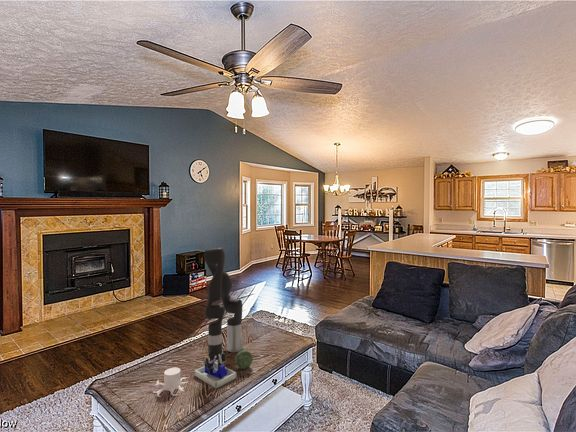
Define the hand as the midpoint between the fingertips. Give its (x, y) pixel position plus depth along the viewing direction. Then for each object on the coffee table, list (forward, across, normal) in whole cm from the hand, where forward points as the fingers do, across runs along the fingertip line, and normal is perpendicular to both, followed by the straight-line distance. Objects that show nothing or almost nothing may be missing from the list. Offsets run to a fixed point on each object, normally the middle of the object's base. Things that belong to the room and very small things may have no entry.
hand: (215, 372), depth 173 cm
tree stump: (+3, +20, -10) cm, 23 cm away
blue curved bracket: (+1, 0, 0) cm, 1 cm away
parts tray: (+3, 0, 0) cm, 3 cm away
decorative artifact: (+3, -16, +6) cm, 17 cm away
